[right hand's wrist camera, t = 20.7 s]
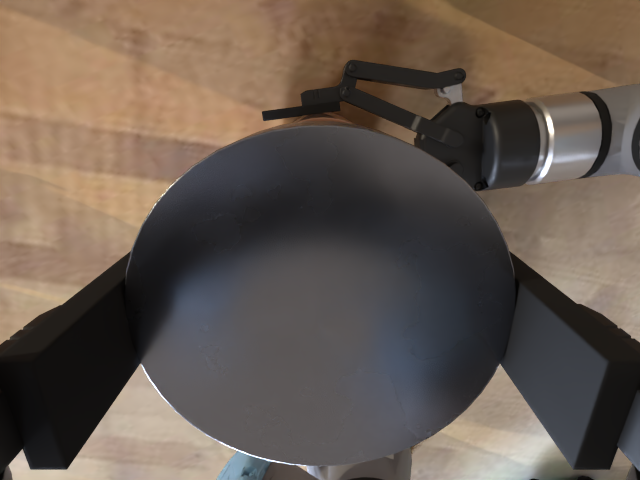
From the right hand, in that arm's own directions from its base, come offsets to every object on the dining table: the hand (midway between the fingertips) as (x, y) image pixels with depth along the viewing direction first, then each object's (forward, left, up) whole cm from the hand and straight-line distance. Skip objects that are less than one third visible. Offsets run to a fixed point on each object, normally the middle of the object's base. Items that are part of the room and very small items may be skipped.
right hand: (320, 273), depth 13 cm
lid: (0, 0, +3) cm, 3 cm away
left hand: (-2, +4, -22) cm, 22 cm away
